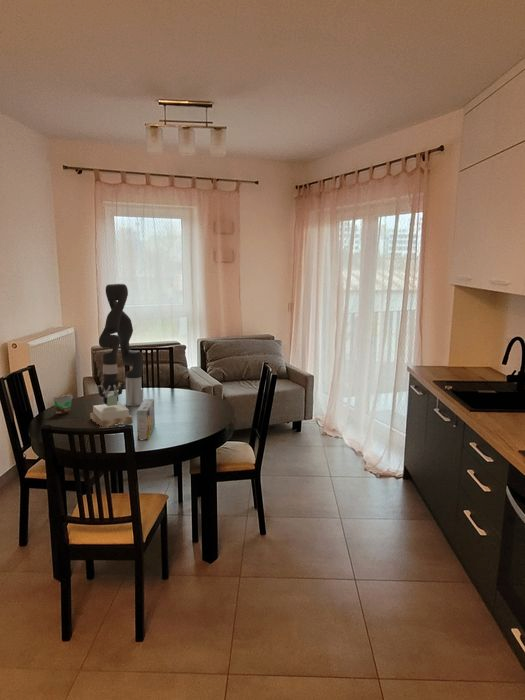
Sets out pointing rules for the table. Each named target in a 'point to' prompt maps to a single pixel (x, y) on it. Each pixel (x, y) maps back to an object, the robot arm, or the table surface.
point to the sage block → (111, 399)
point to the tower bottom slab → (110, 422)
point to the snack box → (145, 419)
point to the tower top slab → (110, 411)
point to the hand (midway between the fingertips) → (110, 403)
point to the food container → (63, 404)
